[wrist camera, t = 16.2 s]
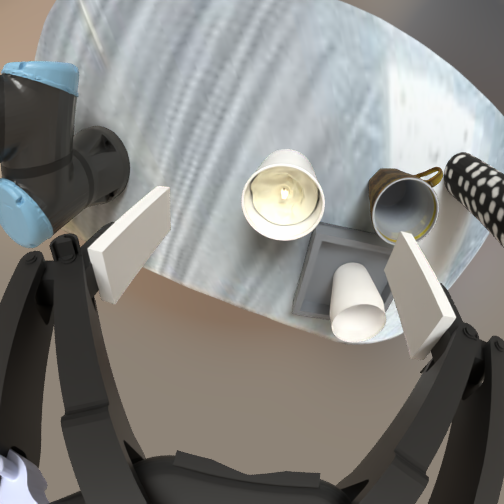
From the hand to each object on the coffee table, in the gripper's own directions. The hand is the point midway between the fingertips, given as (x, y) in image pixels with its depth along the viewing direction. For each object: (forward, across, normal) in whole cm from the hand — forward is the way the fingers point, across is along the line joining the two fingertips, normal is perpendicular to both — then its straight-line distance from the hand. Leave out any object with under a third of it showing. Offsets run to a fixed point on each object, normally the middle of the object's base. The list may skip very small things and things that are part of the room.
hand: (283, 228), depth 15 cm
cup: (+28, +15, -22) cm, 39 cm away
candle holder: (+29, 0, -6) cm, 30 cm away
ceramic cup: (+29, +17, -3) cm, 34 cm away
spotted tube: (+29, +30, +2) cm, 42 cm away
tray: (+29, +15, -22) cm, 39 cm away
